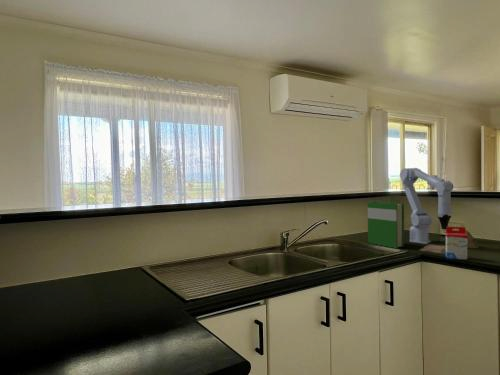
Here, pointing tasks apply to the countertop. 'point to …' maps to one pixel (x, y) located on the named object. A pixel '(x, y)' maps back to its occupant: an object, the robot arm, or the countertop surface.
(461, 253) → the ink box
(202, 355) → the countertop surface
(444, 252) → the mat
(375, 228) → the hardback book
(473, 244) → the rock
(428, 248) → the tile
